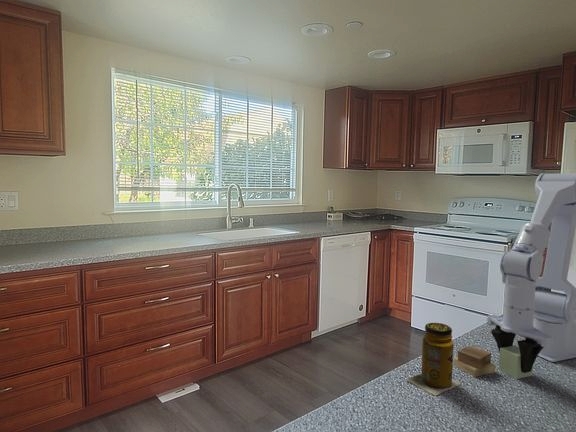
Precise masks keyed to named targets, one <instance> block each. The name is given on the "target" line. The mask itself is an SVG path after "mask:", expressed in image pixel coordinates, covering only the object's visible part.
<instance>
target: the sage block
mask: <svg viewBox="0 0 576 432" xmlns="http://www.w3.org/2000/svg"><path fill="white" fill-rule="evenodd" d="M533 368H534V366H533V367H532V370H531V372H527V373H523V372H521V355H520V349H519V346H518V345H516V344H513V346H508V347H503V348H500V353H499V361H498V370H499V371H500V372H503V373H505V374H506V375H508V376H510V377H512V378H514V379H515V380H519V379H522V378H527V377H532V376H533V370H534V369H533Z"/></svg>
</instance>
